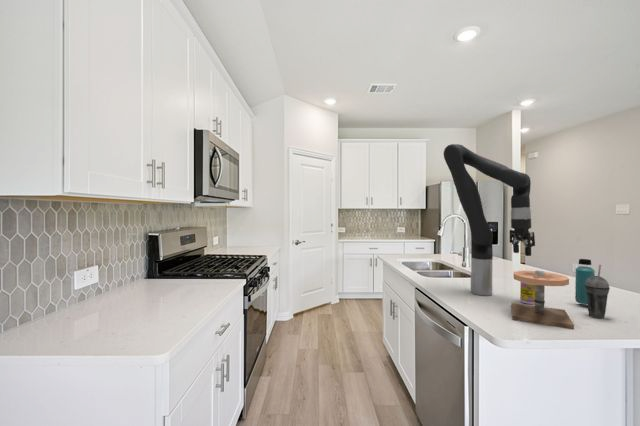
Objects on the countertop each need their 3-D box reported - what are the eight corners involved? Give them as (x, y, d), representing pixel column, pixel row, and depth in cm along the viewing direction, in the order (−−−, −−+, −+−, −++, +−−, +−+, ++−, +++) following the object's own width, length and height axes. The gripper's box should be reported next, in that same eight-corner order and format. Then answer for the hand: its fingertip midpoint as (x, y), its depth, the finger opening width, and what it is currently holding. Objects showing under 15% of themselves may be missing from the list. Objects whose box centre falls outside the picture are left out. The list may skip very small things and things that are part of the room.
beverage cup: (579, 313, 122) (579, 263, 122) (595, 312, 123) (596, 262, 123) (597, 320, 115) (597, 266, 115) (614, 319, 116) (615, 266, 115)
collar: (514, 282, 116) (514, 277, 116) (512, 273, 131) (513, 269, 130) (572, 288, 107) (572, 282, 107) (563, 278, 122) (563, 273, 122)
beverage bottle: (598, 308, 128) (599, 260, 127) (580, 307, 129) (581, 260, 129) (588, 304, 134) (589, 258, 134) (571, 303, 136) (571, 257, 135)
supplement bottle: (516, 301, 138) (517, 272, 138) (525, 299, 141) (525, 271, 141) (533, 305, 132) (533, 275, 132) (541, 303, 135) (542, 274, 135)
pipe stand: (512, 319, 116) (513, 273, 116) (511, 306, 131) (511, 265, 131) (573, 329, 107) (574, 278, 106) (564, 313, 122) (565, 269, 122)
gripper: (503, 217, 144) (504, 252, 144) (522, 218, 130) (523, 257, 130) (519, 216, 144) (520, 251, 144) (540, 218, 130) (541, 256, 130)
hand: (522, 254), depth 137 cm, fingers open, 8 cm apart
